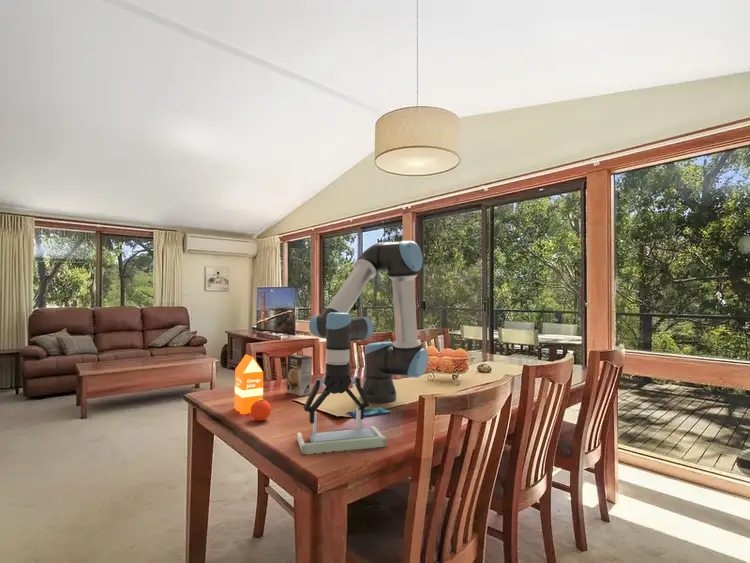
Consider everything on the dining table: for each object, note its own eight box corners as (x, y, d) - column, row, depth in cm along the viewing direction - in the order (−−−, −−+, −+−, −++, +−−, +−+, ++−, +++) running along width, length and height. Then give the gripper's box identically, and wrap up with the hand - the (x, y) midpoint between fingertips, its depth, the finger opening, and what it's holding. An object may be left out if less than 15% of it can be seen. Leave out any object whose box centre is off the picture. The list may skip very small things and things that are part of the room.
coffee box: (286, 392, 180) (287, 355, 181) (298, 389, 185) (298, 353, 185) (300, 396, 174) (300, 357, 175) (311, 393, 179) (312, 355, 180)
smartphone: (345, 412, 151) (380, 406, 159) (345, 415, 151) (380, 409, 158) (355, 418, 144) (391, 411, 152) (355, 420, 144) (391, 414, 152)
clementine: (249, 417, 145) (249, 396, 145) (269, 415, 147) (269, 395, 147) (250, 424, 137) (251, 402, 137) (272, 422, 140) (272, 401, 140)
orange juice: (254, 405, 159) (255, 353, 160) (262, 411, 152) (264, 356, 153) (233, 408, 155) (235, 355, 155) (241, 414, 148) (242, 358, 148)
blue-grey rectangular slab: (368, 436, 129) (368, 428, 129) (374, 444, 122) (374, 436, 122) (310, 442, 124) (310, 433, 124) (313, 450, 117) (313, 441, 117)
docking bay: (373, 432, 131) (374, 424, 131) (386, 446, 120) (386, 437, 120) (297, 439, 124) (297, 431, 124) (302, 454, 113) (302, 445, 113)
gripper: (373, 359, 135) (372, 424, 135) (295, 361, 128) (294, 431, 128) (380, 363, 128) (379, 432, 128) (298, 366, 121) (297, 439, 120)
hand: (336, 431), depth 128 cm, fingers open, 13 cm apart
